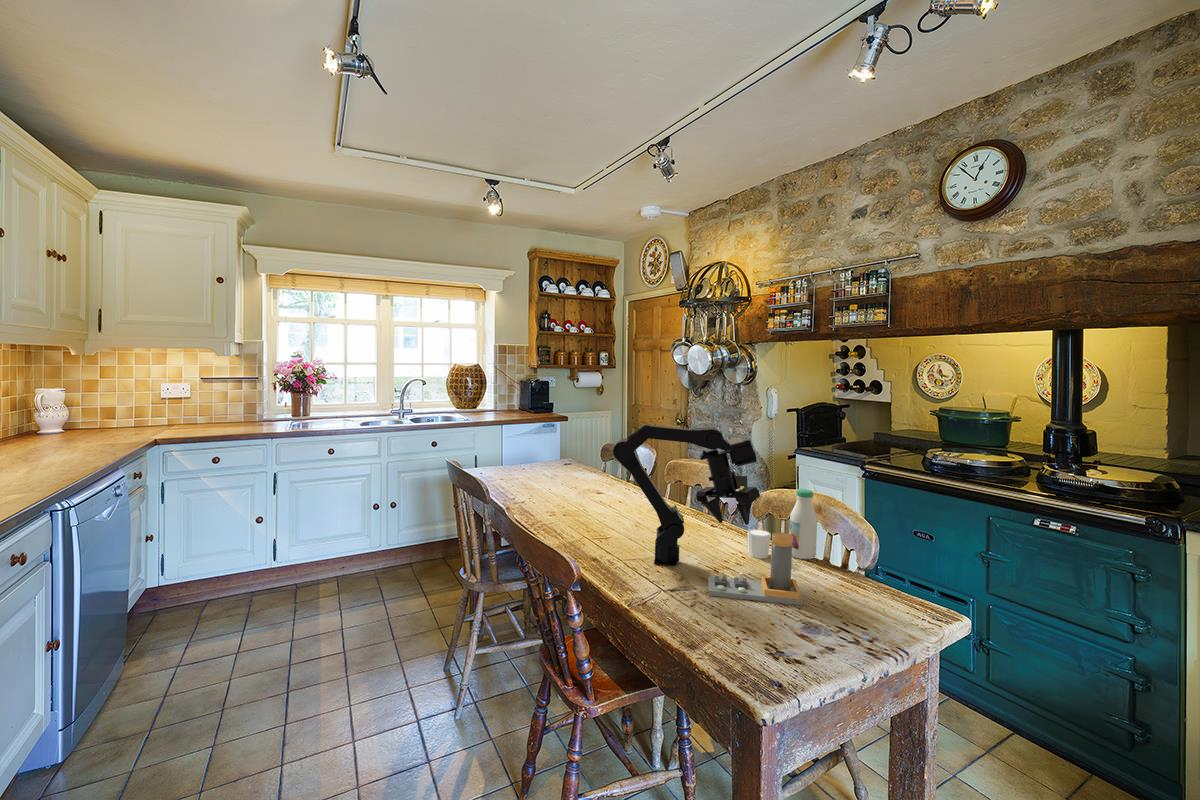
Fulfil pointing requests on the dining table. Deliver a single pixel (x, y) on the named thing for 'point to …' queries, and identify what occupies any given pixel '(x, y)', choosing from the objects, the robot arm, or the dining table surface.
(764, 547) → the white tapered cup
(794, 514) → the milk bottle
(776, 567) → the grey orange cylinder
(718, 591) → the breaker panel
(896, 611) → the dining table surface
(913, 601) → the dining table surface
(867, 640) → the dining table surface
